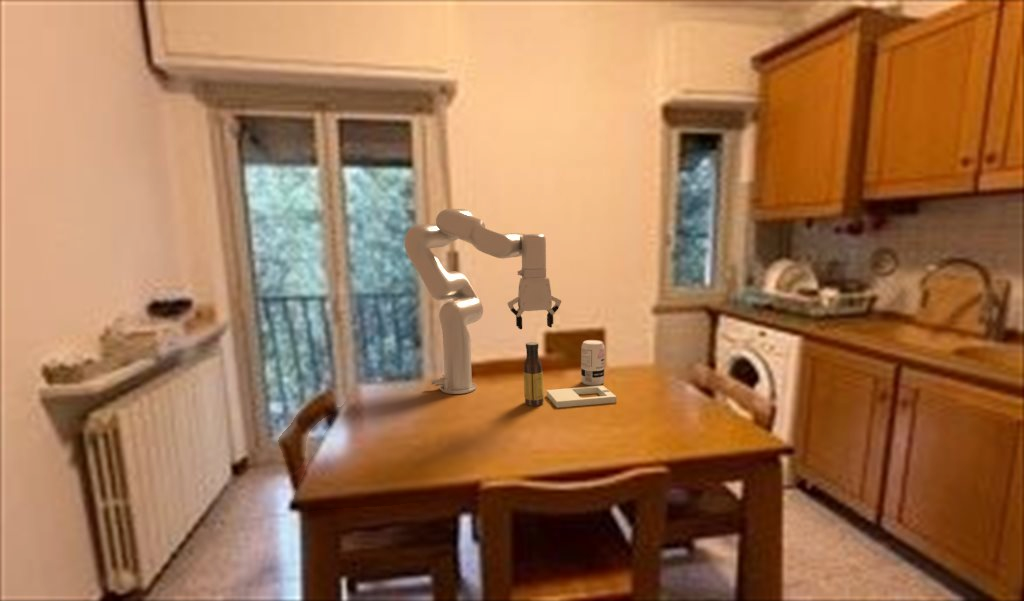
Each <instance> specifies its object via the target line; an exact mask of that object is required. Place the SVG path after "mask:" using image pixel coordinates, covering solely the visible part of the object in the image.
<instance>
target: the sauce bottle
mask: <svg viewBox="0 0 1024 601" xmlns="http://www.w3.org/2000/svg"><path fill="white" fill-rule="evenodd" d="M525 349H526V358H525V360H524V361H523V393H524V403H525V404H526V405H527V406H532V407H536V406H540V405H542V404H543V403H544V396H545V394H544V393H545V392H544V374H543V373H544V371H543V370H544V369H543V362H542V361H541V359H540V358H539V343H538V342H536V341H533V342H532V341H529V342H526V343H525Z"/></svg>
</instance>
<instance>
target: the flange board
mask: <svg viewBox="0 0 1024 601" xmlns="http://www.w3.org/2000/svg"><path fill="white" fill-rule="evenodd" d="M589 394H591V395H592V394H598V395H599V396H589V397H587V396H586V397H581V396H580V395H589ZM546 397H547V398H548V399H549V401H550V402H552V404H553V405H554V406H555V407H556V408H558V409H559V408H571V407H580V406H589V405H590V406H593V405H603V404H612V403H613V404H614V403H617V396H616V395H615V394H614V393H613V392H611V391H610V390H609V389H608V388H607V387H605V386H604V385H596V386H591V385H590V386H581V387H579V386H578V387H568V388H557V389H546Z"/></svg>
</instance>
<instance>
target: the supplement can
mask: <svg viewBox="0 0 1024 601" xmlns="http://www.w3.org/2000/svg"><path fill="white" fill-rule="evenodd" d="M604 344H605V343H604V342H603V341H602V340H599V339H598V340H597V339H587V340H584V341H583V342H582V344H581V348H580V349H581V351H580V355H581V356H580V358H581V359H580V368H581V369H580V381H581V382H582V384H583V385H585V386H590V387H591V386H602V384H603V383H604V382H605V355H606V348H605V347H606V346H605V345H604Z"/></svg>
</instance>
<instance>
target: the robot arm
mask: <svg viewBox="0 0 1024 601" xmlns="http://www.w3.org/2000/svg"><path fill="white" fill-rule="evenodd" d="M457 240H460V241H463V242H466V243H469V244H471V245H472V247H474V248H475V249H476V250H478V251H479V252H481V253H484V254H485V255H488V256H491V257H494V258H497V259H503V260H504V259H510V258H517V257H521V269H520V270H517V275H518V276H521V278H519V282H518V284H519V285H518V293H517V295H518V296H517V297H515V298H513V299H511V300H510V301H508V302H507V304H506V305H507V306H508V308H509V311H510V312H512V313H513V315H514V316H515V323H516V324H515V325H516V327H517V328H518V329H519V330H523V317H522V314H523V313H524V312H531V311H532V312H533V311H547V314H546V326H547V327H548V328H552V327H553V325H554V315H555V314H556V312H557V311H558V310H559V309H560V306H561V303H562V300H561V299H559V298H557V297H555V296H553V295H552V290H551V289H552V288H551V282H550V278H549V277H547V249H546V248H547V242H546V240H547V239H546V236H545V235H544V234H541V233H529V234H525V233H518V232H516V233H515V232H514V233H498V232H496V231H493V230H490V229H488V228H486V224H485V222H484V221H483V220H482V219H480V218H477V217H474V216H473V214H472V213H471V212H470V211H468V210H467V209H464V208H446V209H443V210H441V211H439V213H438V214H437V216H436V219H435V223H424V224H423V223H421V224H417V225H414V226H412V227H410V228H409V229H408V230H407V232H406V234H405V236H404V249H405V253H406V256H407V257H408V258H409V260H410V262H411V263H412V265H413V266H414V268H415V270H416V271H417V273H418V274H419V276H420V278H421V280H422V281H423V283H424V285H425V287H426V288H427V290H428V292H429V294H430V296H431V297H432V298H433V299H435V300H436V301H446V300H449V301H447V302H445V303H444V304H442V306H441V307H440V309H439V312H438V315H439V323H440V326H441V331H442V334H441V335H442V346H443V347H442V348H443V352H442V353H443V375H442V377H439V378H431V379H430V382H431V385H435V386H436V387H438V386H440V387H439V389H440V391H441V392H442V393H444V394H450V395H462V394H463V395H464V394H468V393H472V392H474V391H475V390H476V389H477V384H476V382H473V381H472V348H471V347H472V346H471V342H472V340H471V336H470V332H469V329H468V327H467V325H468V326H469V325H470V324H473V323H476V322H479V321H480V320H481V318H482V317H483V314H484V307H483V304H482V302H481V299H480V298H479V296H478V294H477V293H476V291H475V289H474V287H473V285H472V284H471V283H470V280H469V278H467V277H466V276H465V275H464V274H463V273H462V272H460V271H456V270H453V271H447V270H446V269H445V268H444V266H443V264H442V262H441V260H440V259H439V258H438V256H437V255H435V254H434V253H433V252H432V251H431V250H430V249H437V248H443V247H446V246H448V245H450V244H452V243H453V242H455V241H457ZM450 299H451V300H450ZM553 302H554V303H555V304H554V305H553ZM515 304H517V306H518V308H517V309H516V308H515V307H514V305H515ZM552 305H553V306H552Z"/></svg>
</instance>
